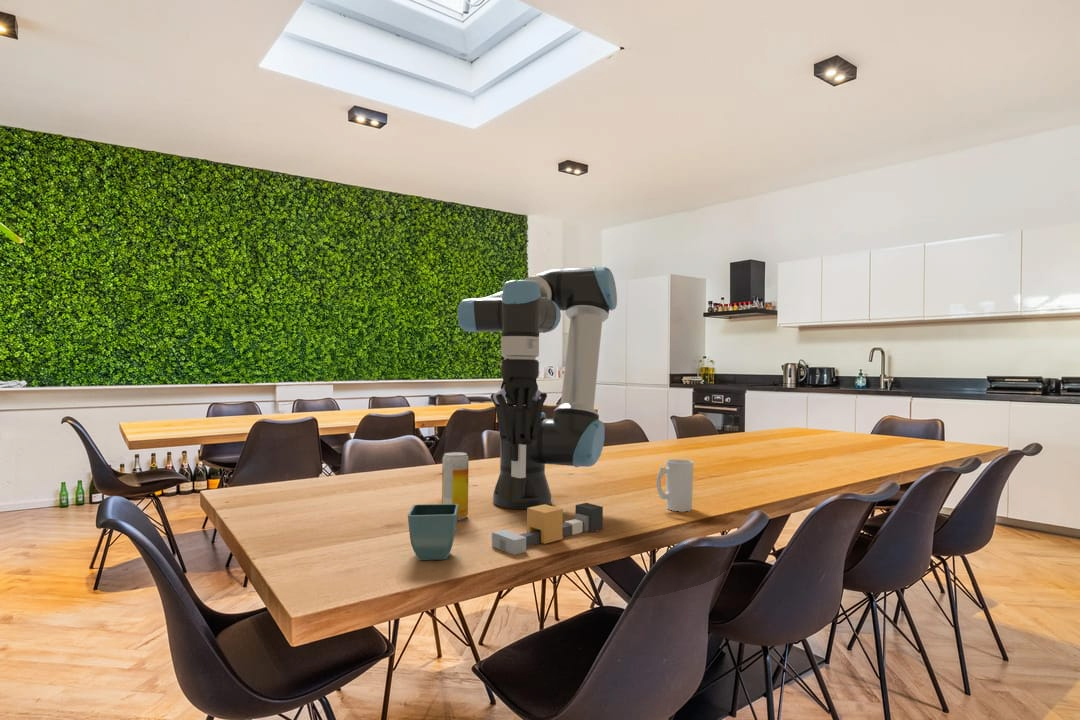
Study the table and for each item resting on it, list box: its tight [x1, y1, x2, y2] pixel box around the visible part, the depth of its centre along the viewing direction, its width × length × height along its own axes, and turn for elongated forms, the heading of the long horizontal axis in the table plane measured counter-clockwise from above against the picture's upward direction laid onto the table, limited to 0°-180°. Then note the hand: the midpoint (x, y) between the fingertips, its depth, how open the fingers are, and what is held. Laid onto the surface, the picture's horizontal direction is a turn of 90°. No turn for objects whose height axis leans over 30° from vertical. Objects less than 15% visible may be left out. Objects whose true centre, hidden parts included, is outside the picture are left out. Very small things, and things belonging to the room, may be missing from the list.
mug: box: [656, 458, 694, 513], centre depth 154 cm, size 10×7×12 cm, turn 112°
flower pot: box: [407, 503, 458, 561], centre depth 116 cm, size 9×9×9 cm
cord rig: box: [491, 502, 604, 556], centre depth 128 cm, size 26×7×5 cm, turn 132°
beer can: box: [441, 451, 470, 521], centre depth 144 cm, size 6×6×15 cm
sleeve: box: [526, 504, 564, 544], centre depth 127 cm, size 5×5×6 cm
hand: (518, 476), depth 122 cm, fingers closed
